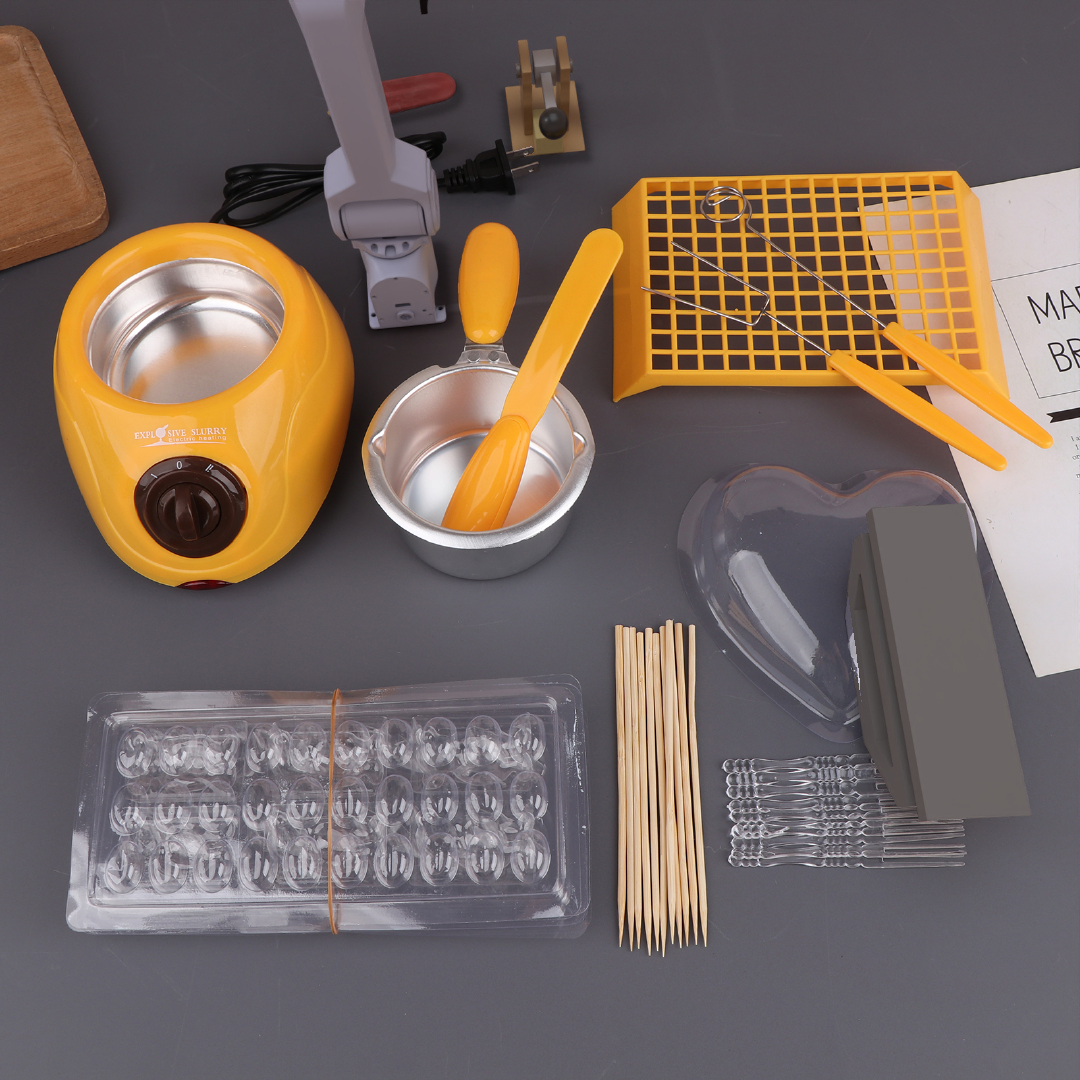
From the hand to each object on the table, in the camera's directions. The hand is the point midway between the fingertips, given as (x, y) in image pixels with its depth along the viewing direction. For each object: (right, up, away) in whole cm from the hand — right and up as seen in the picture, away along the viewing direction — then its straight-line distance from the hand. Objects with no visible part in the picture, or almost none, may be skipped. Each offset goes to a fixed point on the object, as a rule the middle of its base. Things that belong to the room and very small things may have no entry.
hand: (387, 10), depth 94 cm
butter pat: (+17, -11, +5) cm, 21 cm away
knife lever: (+17, -11, -1) cm, 20 cm away
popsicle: (-1, -6, +9) cm, 11 cm away
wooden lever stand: (+17, -9, +7) cm, 20 cm away
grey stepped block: (+48, -68, -13) cm, 85 cm away
